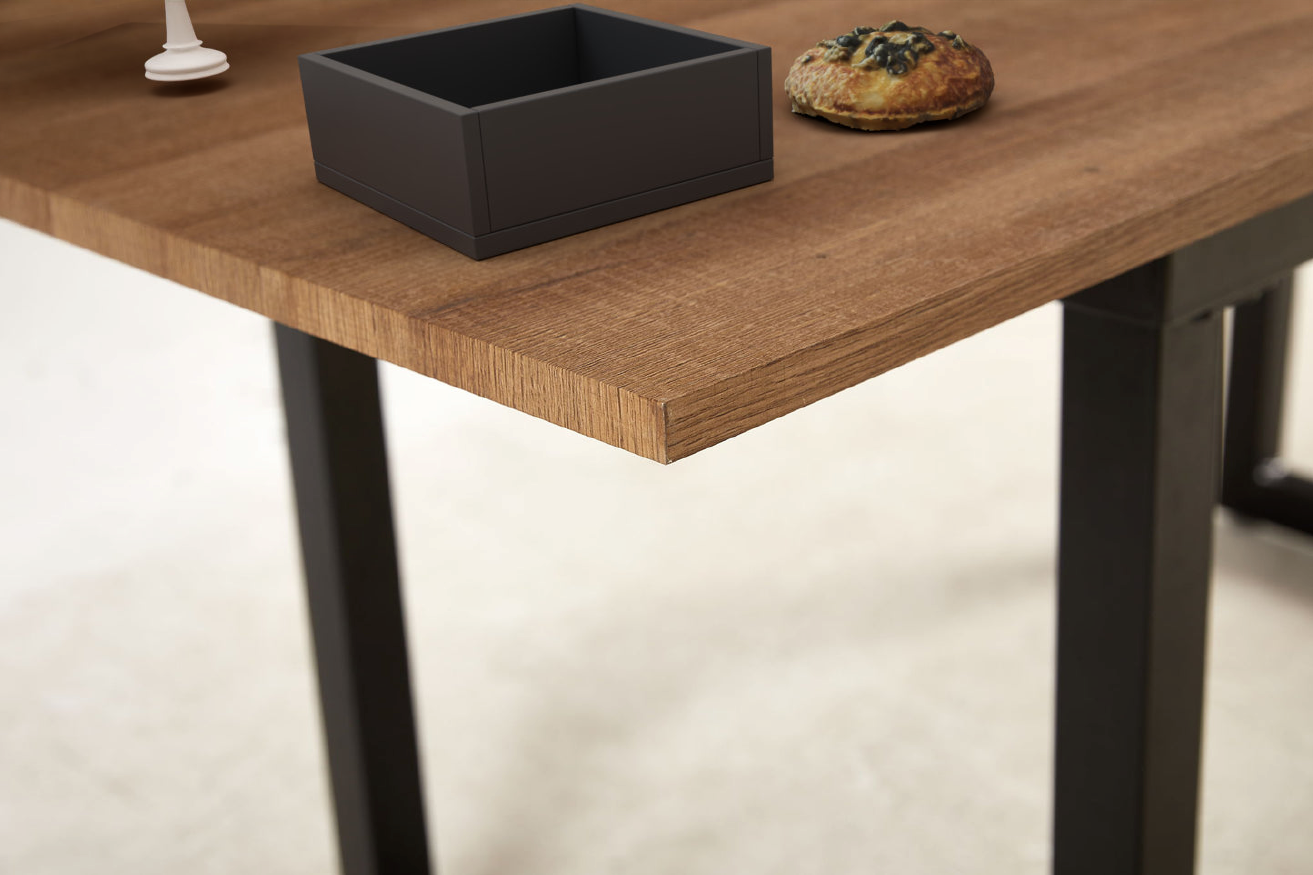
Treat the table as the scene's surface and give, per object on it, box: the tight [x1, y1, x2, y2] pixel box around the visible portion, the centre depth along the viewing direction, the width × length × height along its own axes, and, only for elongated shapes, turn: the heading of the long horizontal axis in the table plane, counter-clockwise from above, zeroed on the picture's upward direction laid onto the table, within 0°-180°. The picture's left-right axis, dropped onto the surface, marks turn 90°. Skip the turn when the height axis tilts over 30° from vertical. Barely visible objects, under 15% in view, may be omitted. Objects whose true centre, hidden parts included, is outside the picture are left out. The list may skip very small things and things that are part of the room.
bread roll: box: [783, 19, 996, 132], centre depth 80 cm, size 11×11×5 cm
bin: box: [297, 2, 775, 261], centre depth 71 cm, size 16×16×6 cm
